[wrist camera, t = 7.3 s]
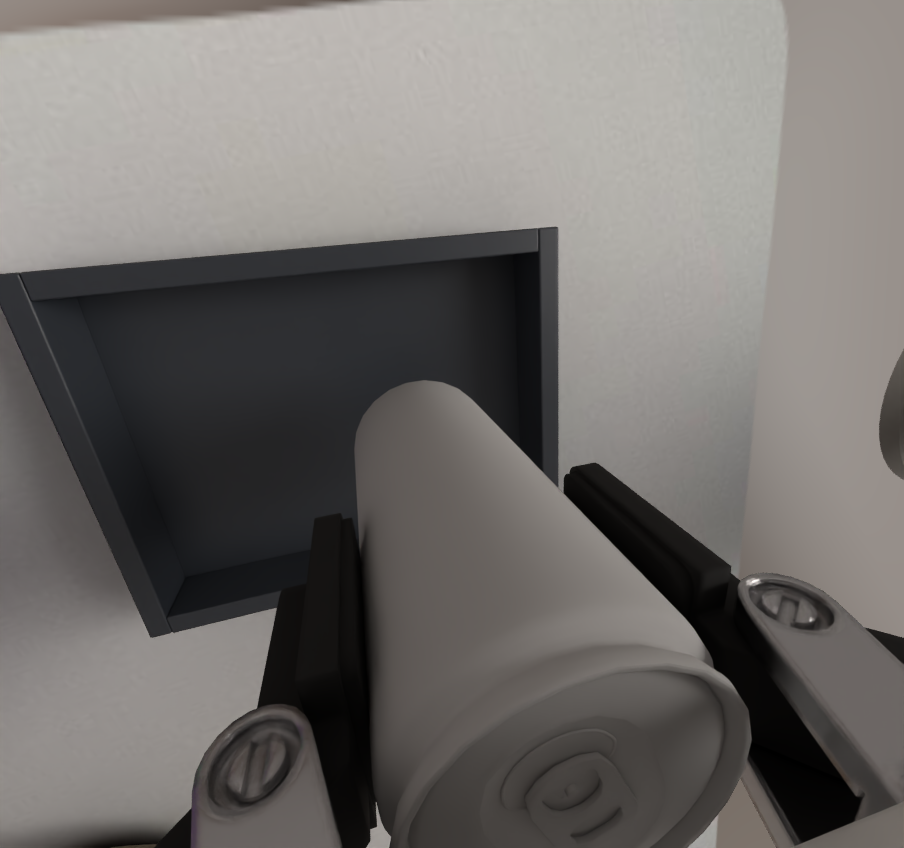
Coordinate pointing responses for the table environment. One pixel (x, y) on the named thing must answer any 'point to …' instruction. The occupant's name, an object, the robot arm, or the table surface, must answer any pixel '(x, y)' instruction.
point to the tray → (271, 392)
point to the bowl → (138, 846)
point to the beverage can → (521, 653)
